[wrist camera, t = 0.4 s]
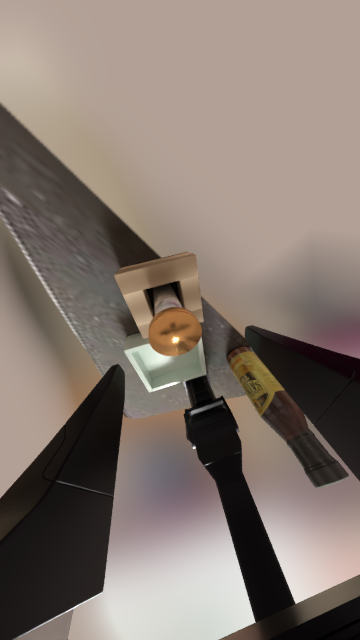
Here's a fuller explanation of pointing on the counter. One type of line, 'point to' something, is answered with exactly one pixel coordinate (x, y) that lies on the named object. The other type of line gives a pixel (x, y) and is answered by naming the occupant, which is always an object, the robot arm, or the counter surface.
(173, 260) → the block
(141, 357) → the sage tray
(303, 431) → the sauce bottle
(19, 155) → the counter surface
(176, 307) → the orange-capped jar
